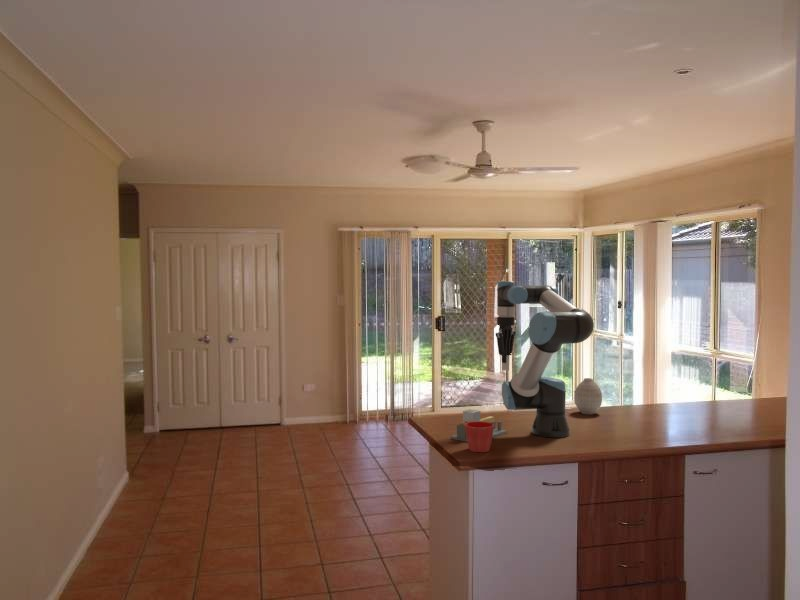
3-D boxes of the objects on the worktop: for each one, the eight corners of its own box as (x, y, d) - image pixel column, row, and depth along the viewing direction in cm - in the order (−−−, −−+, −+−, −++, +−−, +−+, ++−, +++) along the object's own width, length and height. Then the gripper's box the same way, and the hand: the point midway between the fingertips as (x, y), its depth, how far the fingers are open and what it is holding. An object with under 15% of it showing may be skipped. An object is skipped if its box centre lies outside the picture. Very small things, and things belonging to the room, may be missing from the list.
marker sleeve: (480, 431, 257) (480, 410, 257) (473, 433, 254) (473, 412, 253) (469, 429, 261) (470, 409, 260) (462, 431, 257) (463, 411, 257)
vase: (605, 416, 298) (605, 380, 298) (578, 415, 299) (578, 380, 298) (597, 410, 311) (597, 376, 311) (571, 410, 311) (571, 376, 311)
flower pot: (462, 446, 243) (462, 421, 243) (490, 445, 244) (490, 420, 244) (467, 453, 233) (467, 427, 232) (496, 453, 234) (497, 427, 233)
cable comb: (506, 433, 264) (507, 416, 264) (475, 443, 247) (475, 426, 247) (482, 428, 272) (482, 412, 272) (450, 438, 255) (450, 421, 255)
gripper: (506, 315, 284) (505, 367, 285) (490, 316, 275) (490, 370, 275) (521, 316, 279) (520, 369, 280) (505, 317, 270) (504, 372, 270)
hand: (505, 370), depth 278 cm, fingers closed
